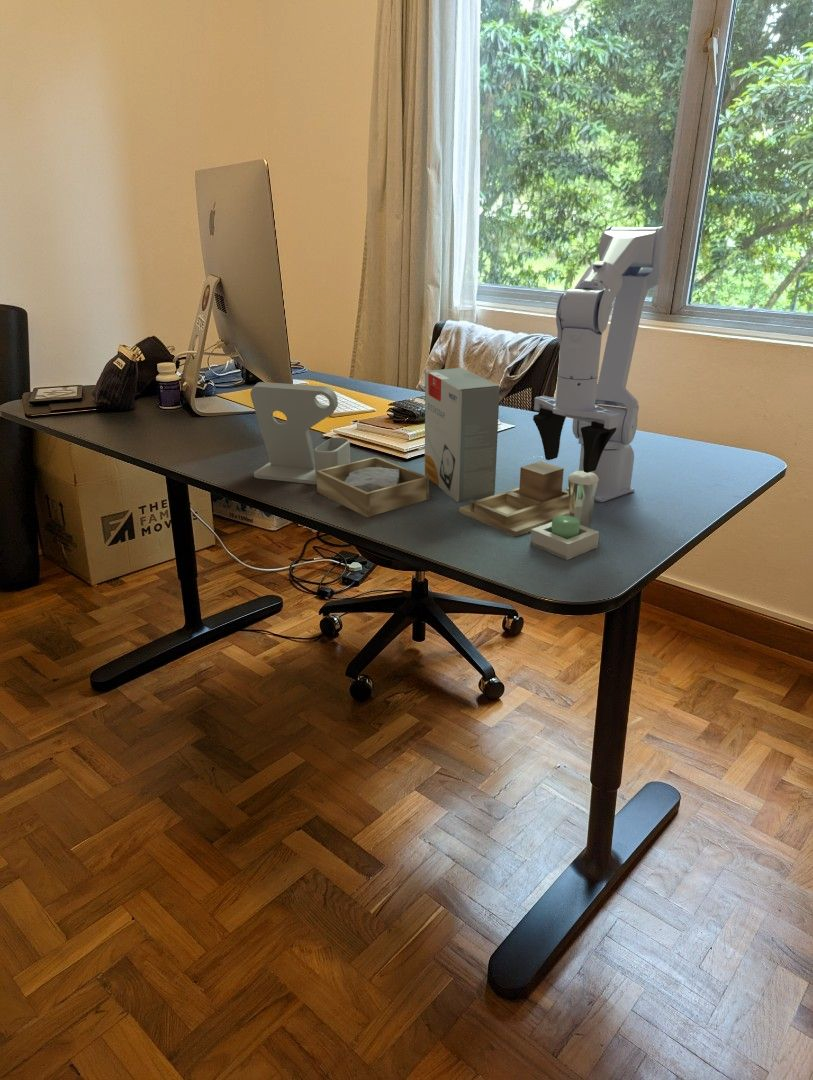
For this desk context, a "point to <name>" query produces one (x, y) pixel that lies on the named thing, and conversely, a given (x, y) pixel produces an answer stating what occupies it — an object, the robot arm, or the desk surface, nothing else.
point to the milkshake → (582, 495)
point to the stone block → (373, 478)
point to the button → (565, 526)
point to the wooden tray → (376, 501)
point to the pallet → (516, 511)
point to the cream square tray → (564, 541)
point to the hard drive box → (461, 433)
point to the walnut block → (541, 481)
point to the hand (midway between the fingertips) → (570, 464)
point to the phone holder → (296, 431)
